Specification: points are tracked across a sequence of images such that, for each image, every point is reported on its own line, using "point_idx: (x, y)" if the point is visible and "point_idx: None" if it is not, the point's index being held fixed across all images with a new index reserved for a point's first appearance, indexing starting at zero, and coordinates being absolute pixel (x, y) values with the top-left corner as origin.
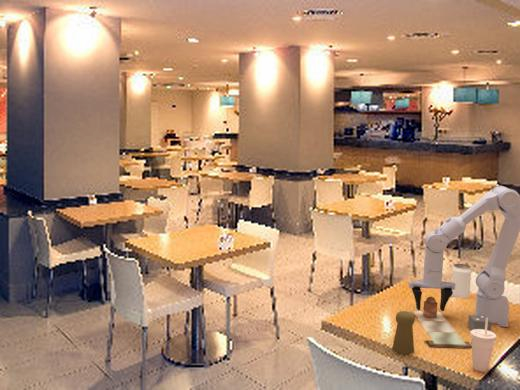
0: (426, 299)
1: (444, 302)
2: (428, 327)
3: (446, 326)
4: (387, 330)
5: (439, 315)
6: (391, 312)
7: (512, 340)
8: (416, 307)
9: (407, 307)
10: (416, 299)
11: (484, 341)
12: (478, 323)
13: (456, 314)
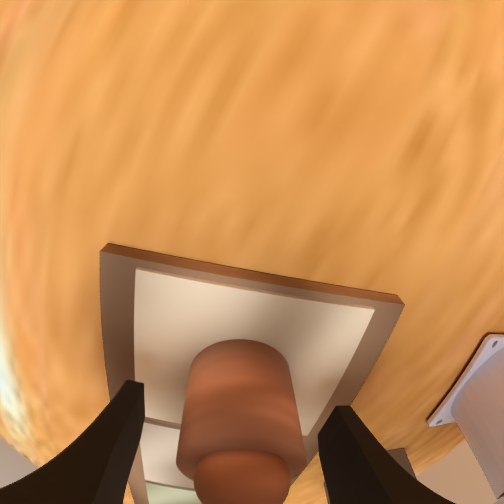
0: (196, 487)
1: (336, 500)
2: (163, 467)
3: None
4: (12, 409)
5: (319, 373)
6: (8, 213)
7: None
8: (123, 386)
9: (160, 88)
10: (97, 442)
11: None
12: None
13: (464, 292)
